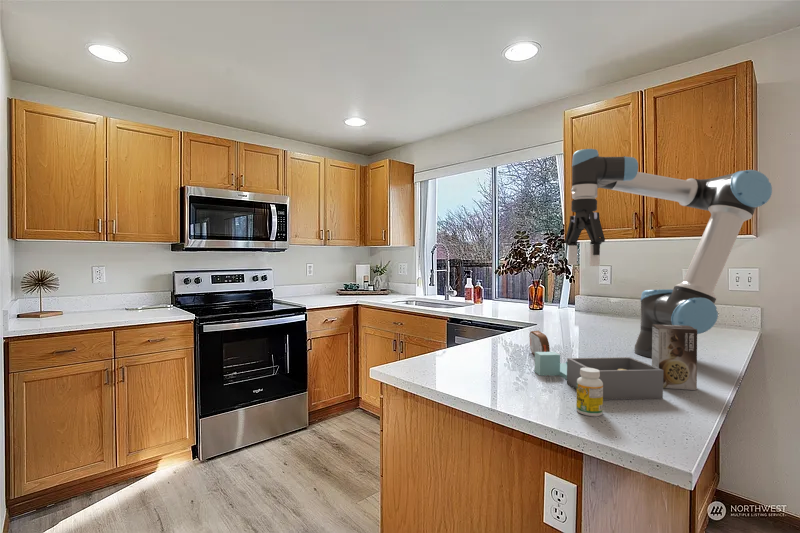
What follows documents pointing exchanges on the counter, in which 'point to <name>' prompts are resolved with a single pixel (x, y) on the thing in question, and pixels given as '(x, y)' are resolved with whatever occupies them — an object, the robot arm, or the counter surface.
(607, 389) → the tub
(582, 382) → the supplement bottle
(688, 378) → the coffee box
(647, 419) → the counter surface
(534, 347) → the tin
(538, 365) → the lid
